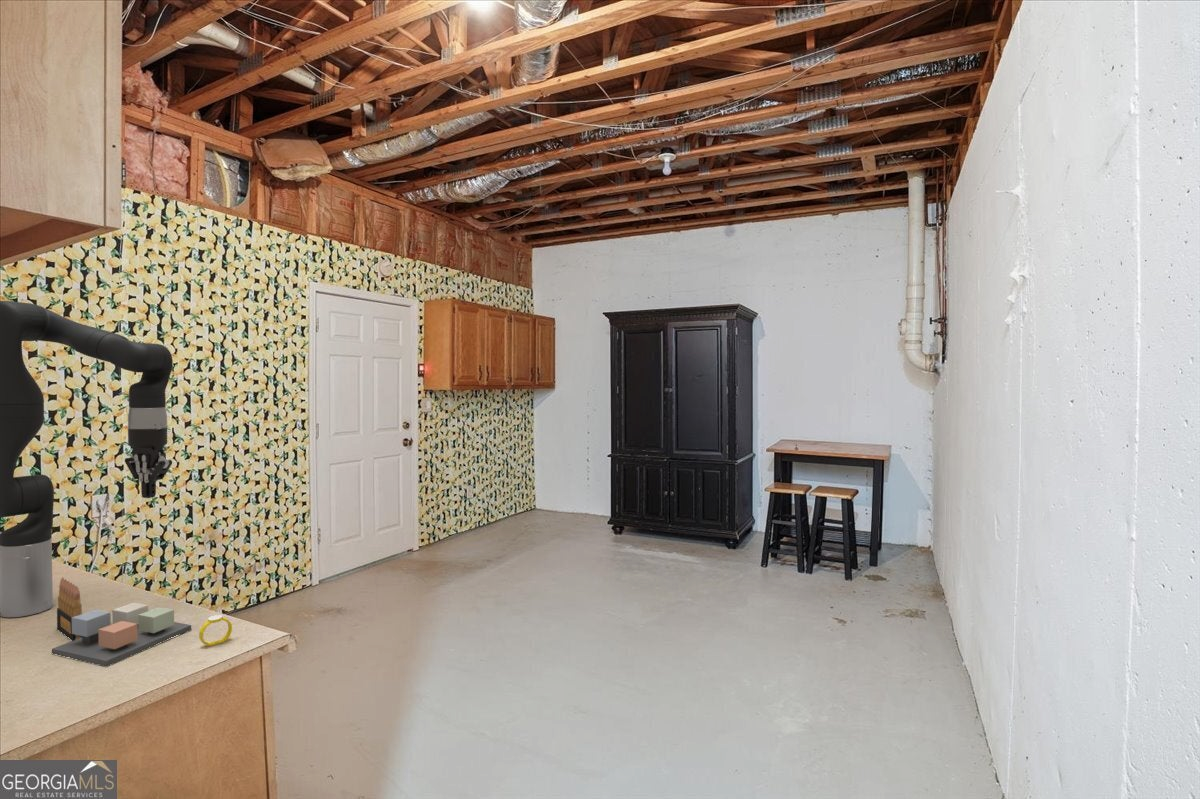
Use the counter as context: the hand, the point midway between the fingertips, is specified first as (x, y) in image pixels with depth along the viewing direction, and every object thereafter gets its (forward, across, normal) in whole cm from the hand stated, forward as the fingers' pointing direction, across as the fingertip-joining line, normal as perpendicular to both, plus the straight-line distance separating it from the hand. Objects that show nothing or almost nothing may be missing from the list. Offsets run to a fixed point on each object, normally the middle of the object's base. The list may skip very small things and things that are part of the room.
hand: (148, 497), depth 143 cm
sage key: (+27, +13, -8) cm, 31 cm away
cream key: (+27, +5, -8) cm, 29 cm away
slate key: (+25, +5, -16) cm, 31 cm away
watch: (+29, +28, -6) cm, 41 cm away
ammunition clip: (+29, -6, -13) cm, 33 cm away
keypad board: (+29, +9, -12) cm, 33 cm away
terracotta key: (+27, +13, -16) cm, 34 cm away
